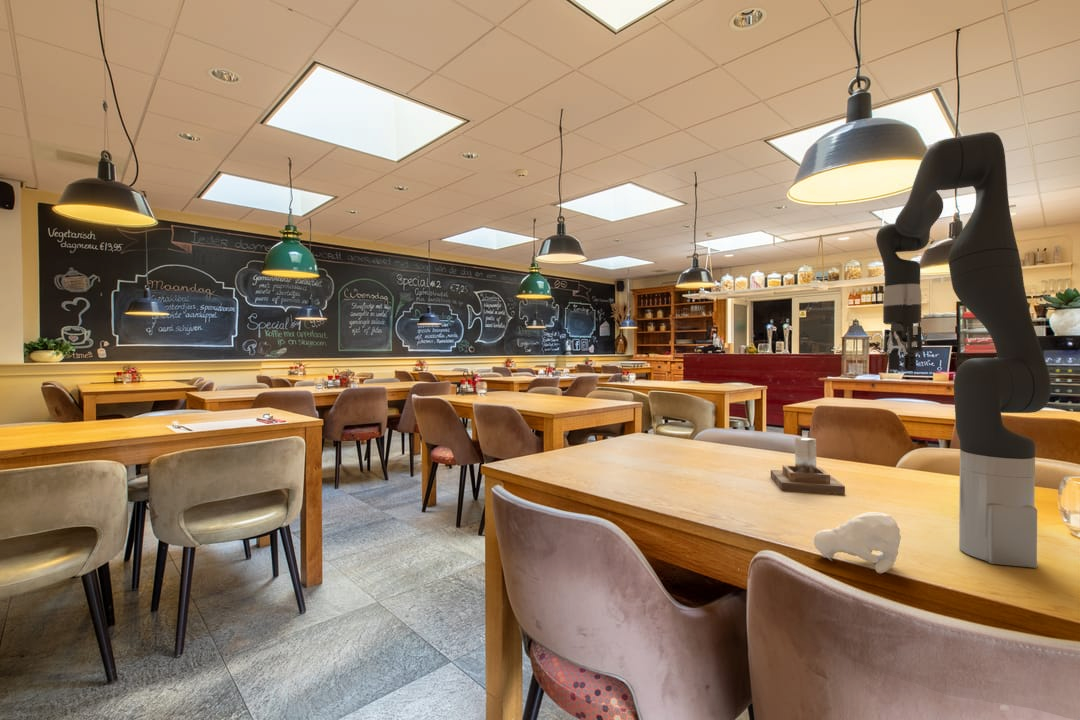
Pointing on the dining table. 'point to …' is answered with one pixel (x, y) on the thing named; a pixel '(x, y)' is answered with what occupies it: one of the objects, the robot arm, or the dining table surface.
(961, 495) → the robot arm
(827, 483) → the plate
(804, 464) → the steel canister
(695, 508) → the dining table surface
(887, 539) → the white animal figurine
